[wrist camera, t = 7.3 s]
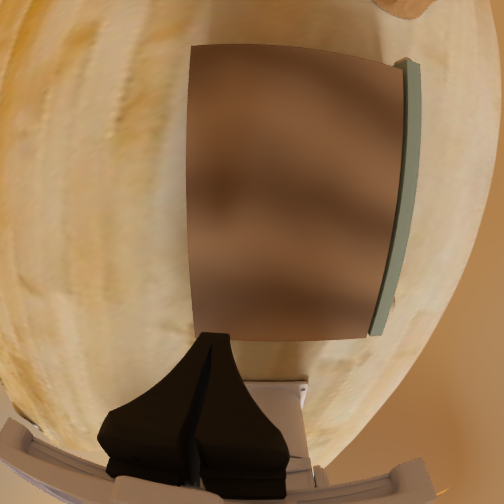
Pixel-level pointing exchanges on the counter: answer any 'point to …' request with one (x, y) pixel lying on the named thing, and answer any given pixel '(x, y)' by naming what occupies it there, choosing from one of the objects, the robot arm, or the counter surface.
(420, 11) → the beer glass
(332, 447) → the counter surface
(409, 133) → the cabinet door
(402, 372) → the counter surface
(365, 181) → the cabinet
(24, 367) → the counter surface
